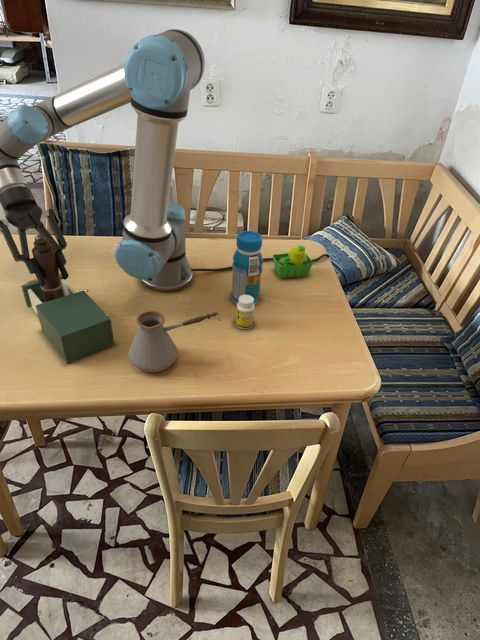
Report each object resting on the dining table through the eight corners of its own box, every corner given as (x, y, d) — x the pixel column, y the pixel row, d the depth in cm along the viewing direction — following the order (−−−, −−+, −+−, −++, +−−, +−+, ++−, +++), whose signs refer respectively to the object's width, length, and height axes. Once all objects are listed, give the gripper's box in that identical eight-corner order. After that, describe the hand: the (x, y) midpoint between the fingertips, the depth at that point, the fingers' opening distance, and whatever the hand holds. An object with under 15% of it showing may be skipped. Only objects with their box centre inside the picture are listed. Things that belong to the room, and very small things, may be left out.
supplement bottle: (235, 318, 133) (236, 293, 128) (252, 319, 134) (254, 293, 128) (235, 329, 129) (237, 303, 124) (253, 330, 130) (256, 304, 125)
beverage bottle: (226, 303, 138) (229, 240, 125) (234, 288, 145) (238, 226, 132) (255, 309, 137) (261, 246, 124) (262, 294, 144) (268, 232, 131)
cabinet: (42, 331, 122) (35, 305, 117) (88, 315, 128) (83, 290, 123) (66, 363, 114) (60, 336, 109) (114, 345, 120) (110, 319, 115)
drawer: (20, 298, 130) (14, 277, 126) (60, 286, 136) (56, 266, 132) (46, 331, 121) (41, 311, 117) (88, 317, 127) (85, 297, 122)
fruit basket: (302, 265, 159) (307, 233, 151) (313, 279, 152) (319, 247, 145) (269, 268, 155) (273, 236, 148) (280, 283, 149) (284, 250, 142)
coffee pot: (126, 377, 112) (119, 326, 102) (132, 345, 121) (126, 295, 111) (218, 378, 115) (221, 328, 105) (218, 347, 123) (220, 298, 114)
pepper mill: (66, 292, 127) (52, 230, 116) (63, 303, 124) (49, 240, 112) (45, 292, 126) (29, 230, 115) (42, 304, 123) (25, 240, 111)
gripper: (48, 191, 125) (86, 275, 126) (-27, 206, 115) (15, 296, 117) (53, 178, 119) (93, 266, 120) (-27, 192, 109) (18, 288, 110)
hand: (54, 281), depth 118 cm, fingers closed on pepper mill, 5 cm apart
